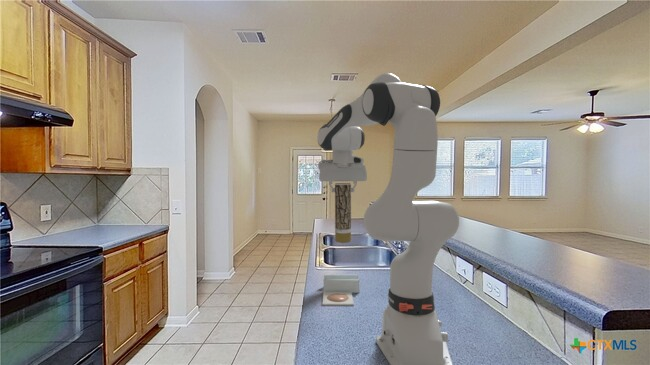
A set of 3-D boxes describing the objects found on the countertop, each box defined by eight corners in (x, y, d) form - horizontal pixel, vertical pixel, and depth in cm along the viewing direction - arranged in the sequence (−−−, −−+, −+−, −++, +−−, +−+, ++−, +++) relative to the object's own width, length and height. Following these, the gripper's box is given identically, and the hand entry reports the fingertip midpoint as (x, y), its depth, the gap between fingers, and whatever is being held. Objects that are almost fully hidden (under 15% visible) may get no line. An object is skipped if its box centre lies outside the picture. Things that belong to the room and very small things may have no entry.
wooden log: (345, 244, 132) (345, 183, 130) (332, 241, 136) (331, 183, 134) (354, 240, 137) (353, 183, 136) (340, 238, 141) (340, 182, 140)
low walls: (359, 292, 124) (359, 280, 124) (323, 292, 125) (323, 279, 125) (358, 286, 131) (358, 274, 131) (324, 286, 131) (324, 274, 131)
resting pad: (353, 305, 112) (353, 303, 112) (322, 305, 113) (322, 303, 113) (351, 293, 123) (351, 292, 123) (323, 293, 124) (323, 291, 124)
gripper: (317, 159, 132) (318, 192, 132) (367, 159, 132) (367, 192, 132) (318, 160, 139) (318, 191, 139) (365, 159, 138) (365, 191, 138)
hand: (342, 192), depth 135 cm, fingers closed on wooden log, 7 cm apart
